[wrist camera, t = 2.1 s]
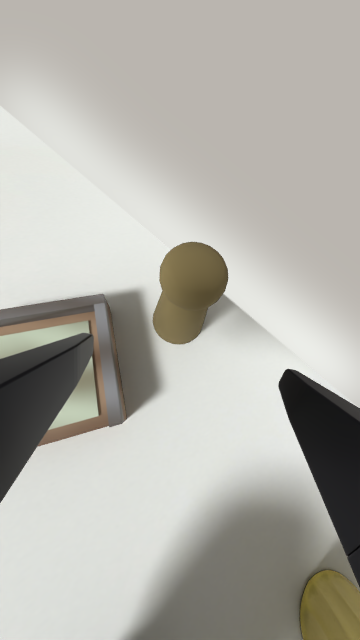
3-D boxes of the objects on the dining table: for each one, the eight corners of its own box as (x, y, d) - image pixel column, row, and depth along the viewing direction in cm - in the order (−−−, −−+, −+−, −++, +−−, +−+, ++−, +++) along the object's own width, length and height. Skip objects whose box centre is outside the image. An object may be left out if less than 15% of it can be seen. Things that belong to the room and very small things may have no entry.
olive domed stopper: (141, 317, 23) (134, 255, 13) (178, 288, 25) (197, 216, 15) (177, 355, 22) (199, 320, 12) (212, 322, 24) (257, 268, 14)
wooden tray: (126, 418, 19) (121, 423, 16) (-33, 464, 16) (-78, 481, 13) (110, 308, 23) (103, 293, 20) (-22, 330, 20) (-55, 318, 17)
